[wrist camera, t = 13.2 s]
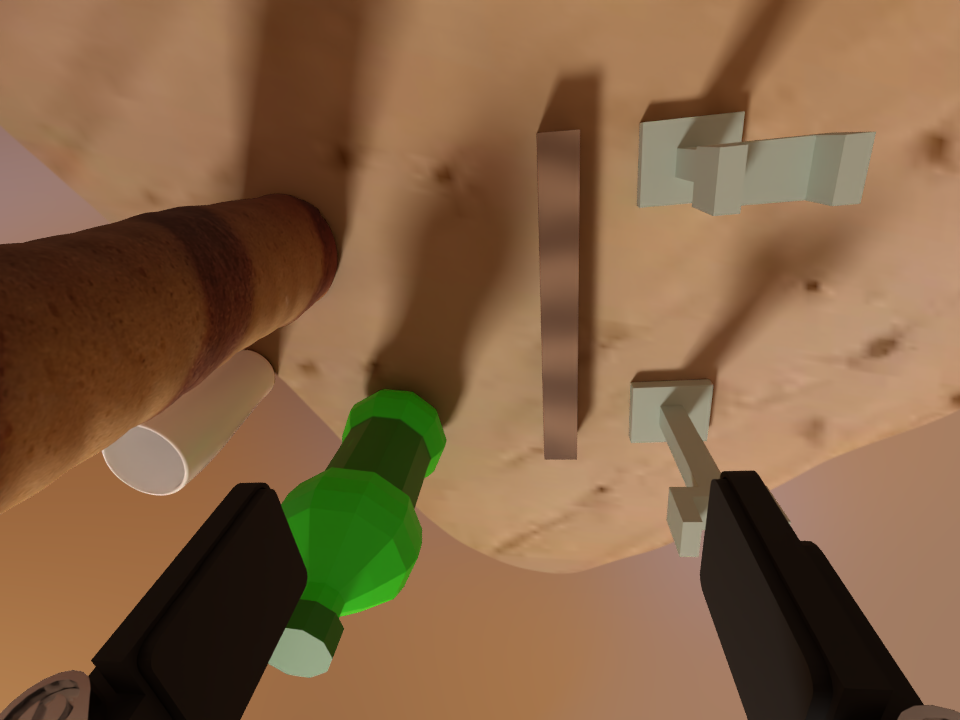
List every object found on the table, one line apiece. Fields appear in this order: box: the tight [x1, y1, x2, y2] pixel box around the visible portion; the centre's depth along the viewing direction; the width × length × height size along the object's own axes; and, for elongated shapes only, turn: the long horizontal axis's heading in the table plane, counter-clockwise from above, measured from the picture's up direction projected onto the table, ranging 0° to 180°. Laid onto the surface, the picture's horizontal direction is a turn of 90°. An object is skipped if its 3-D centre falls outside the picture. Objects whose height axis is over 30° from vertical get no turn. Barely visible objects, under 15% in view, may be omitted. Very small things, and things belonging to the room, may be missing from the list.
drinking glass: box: [102, 350, 275, 495], centre depth 42 cm, size 7×7×15 cm
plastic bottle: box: [268, 389, 446, 678], centre depth 38 cm, size 10×10×25 cm
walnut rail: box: [537, 129, 580, 459], centre depth 41 cm, size 28×3×4 cm, turn 5°
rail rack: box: [629, 111, 876, 557], centre depth 34 cm, size 28×7×17 cm, turn 6°
